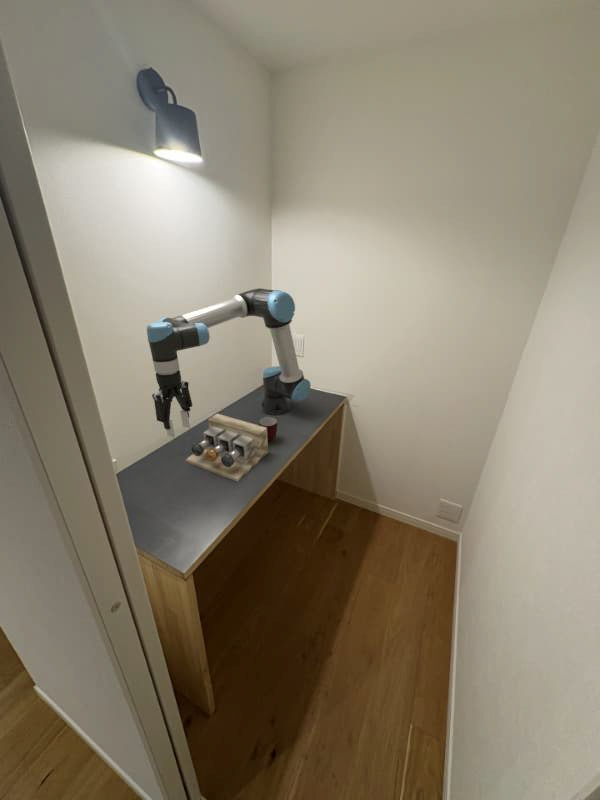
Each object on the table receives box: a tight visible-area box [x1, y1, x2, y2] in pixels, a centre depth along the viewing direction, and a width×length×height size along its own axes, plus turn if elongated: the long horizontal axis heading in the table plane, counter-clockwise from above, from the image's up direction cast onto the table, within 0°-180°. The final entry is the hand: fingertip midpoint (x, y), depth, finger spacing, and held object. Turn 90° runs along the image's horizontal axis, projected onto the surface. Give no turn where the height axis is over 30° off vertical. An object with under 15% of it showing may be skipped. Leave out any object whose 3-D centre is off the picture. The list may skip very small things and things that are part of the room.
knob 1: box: [190, 436, 214, 456], centre depth 127 cm, size 9×5×5 cm, turn 153°
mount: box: [185, 413, 269, 482], centre depth 128 cm, size 21×26×12 cm
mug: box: [258, 416, 278, 444], centre depth 139 cm, size 10×8×10 cm
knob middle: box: [206, 441, 229, 462], centre depth 124 cm, size 9×5×5 cm, turn 153°
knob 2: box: [221, 446, 244, 467], centre depth 121 cm, size 9×5×5 cm, turn 153°
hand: (179, 431), depth 113 cm, fingers open, 6 cm apart
